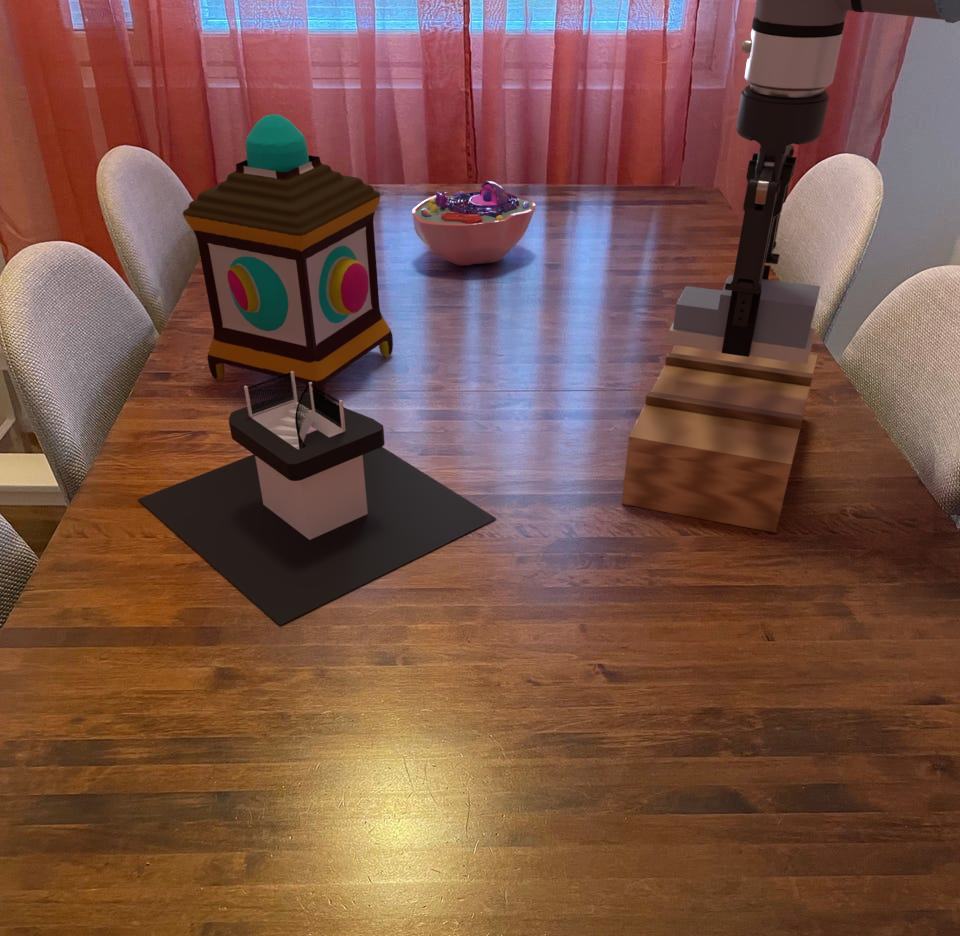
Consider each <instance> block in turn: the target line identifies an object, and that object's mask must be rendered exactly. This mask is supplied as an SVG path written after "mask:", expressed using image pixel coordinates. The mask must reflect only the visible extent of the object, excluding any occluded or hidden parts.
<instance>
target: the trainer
mask: <svg viewBox="0 0 960 936" xmlns="http://www.w3.org/2000/svg"><path fill="white" fill-rule="evenodd" d="M733 276H734V274H729V275H728V277H727V279H726V281H725V283H724V285H723V288H722V290H721V289H712V288H705V287H697V286H690V285H686V286H685V287H684V289H683V291H682V293H681V294H680V297H679V298H678V300H677V302H676V304H675V309H674V318H673V322H672V324H671V326H670V328H669V330H668V336H667V345H673V346H675V345H678V346H685V347H692V348H699V349H706V350H713V351H720V352H722V347H723V341H724V335H725V329H726V323H727V318H728V312H729V306H730V300H731V294H732V291H731V290H725V285H726V283H731V281H732V280H733ZM761 285H762V288H761V290H762V292H761V297H760V302H759V307H758V313H757V318H756V323H755V329H754V334H753V339H752V344H751V350H750V355H749V356H754V357H761V358H768V359H775V360H781V361H788V362H795V363H802V364H807V363H808V359H809V355H810V354H811V351H812V346H813V342H814V339H815V334H816V330H817V327H816V326H812V323H813V319H814V315H815V311H816V306H817V301H818V297H819V293H820V289H821V286H820V285H815V284H814V285H813V284H806V283H800V282H799V283H797V282H790V281H783V280H774V279H768V280H767V279H762V281H761Z"/></svg>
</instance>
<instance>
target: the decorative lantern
mask: <svg viewBox="0 0 960 936" xmlns="http://www.w3.org/2000/svg"><path fill="white" fill-rule="evenodd" d="M308 150H309V149H308V144H307V141H306V138H305V136H304V134H303V133H302V132H301V131H300V130H299V129H298V128H297V127H296V126H295V125H294V124H293V122H292V121H290V120H289V119H288V118H286V117H284V116H282V115H281V114H268V115H267V114H266V115H264V116H262V118H261V119H259V120H258V121H257V122H256V123H255V124H254V126H253V127H252V128H251V130H250V131H249V133H248V134H247V137H246V140H245V153H246V159H245V160H242V161H240V162H238V163H236V164H235V171H232V172H229V174H228V175H227V177H226V180H224V181H221V182H219V184H217V185H215V186H213V187H210V188H207V189H206V190H202V191H201V192H200V193H199V194H198V195H197V197H196V199H194V200H192V201H190V202H189V203H188V207H187V208H185V209H184V210H183V212H182V216H183V218H184V220H185V222H186V223H187V224H188V226H189V227H190V229H191V230H192V231H193V234H194V235H195V238H196V241H197V246H198V253H199V258H200V262H201V263H200V264H201V268H202V272H203V279H204V284H205V289H206V295H207V300H208V306H209V311H210V317H211V320H212V328H213V336H212V339H211V343H210V345H209V349H208V352H207V364H208V368H209V371H210V374H211V376H212V378H213V379H215V380H216V381H221V380H222V379H223V378H224V377H225V365H228V366H230V367H231V366H232V367H235V368H239V369H243V370H247V371H252V372H255V373H260V374H264V375H268V376H272V377H275V378H276V377H279V376H282V375H284V374H287V373H290V372H291V371H293V372H294V377H295V383H301V384H304V385H305V386H307V385H308V384H309V382H312V385H314V386H316V387H317V388H319V389H321V390H322V391H324V392H325V393H327V392H326V389H327V385H328V383H329V382H330V381H331V380H332V379H334V378H335V377H336V376H337V375H339V374H340V373H342V372H343V371H345V370H346V369H347V368H349V367H350V366H352V365H353V364H354V363H355V362H358V361H359V360H360V359H361V358H363V357H364V356H365V355H367V354H369V353H370V352H371V351H373V350H374V349H376V348H377V347H378V348H379V352H380V354H381V356H383V357H384V358H388V357H390V356H391V355H392V353H393V349H394V340H393V339H394V338H393V332H392V330H391V328H390V327H389V325H388V323H387V322H386V320H385V318H384V316H383V314H382V312H381V307H380V297H379V283H378V281H379V280H378V269H377V268H378V267H377V253H376V239H375V226H374V225H375V224H374V219H375V218H374V217H375V214H376V210H377V209H378V205H379V203H380V199H381V193H380V192H379V191H377V190H375V189H374V188H373V186H372V185H371V184H367V183H364V181H363V180H362V179H361V178H359V177H356V176H350V175H344V174H342V173H341V172H339V171H336V170H333V169H332V167H331V166H330V165H329V164H324V163H322V162H321V157H320V156H317V155H310V154H309V151H308ZM287 378H288V379H289V378H290V375H289V377H288V375H287V376H286V380H287ZM281 379H283V377H282V378H281ZM283 380H285V376H284V379H283ZM313 390H314V391H315V392H317V391H318V390H317V389H313ZM317 394H318V393H317ZM315 395H316V394H315ZM320 395H322V396H325V394H324V393H323V394H320ZM324 399H325V398H324Z"/></svg>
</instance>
